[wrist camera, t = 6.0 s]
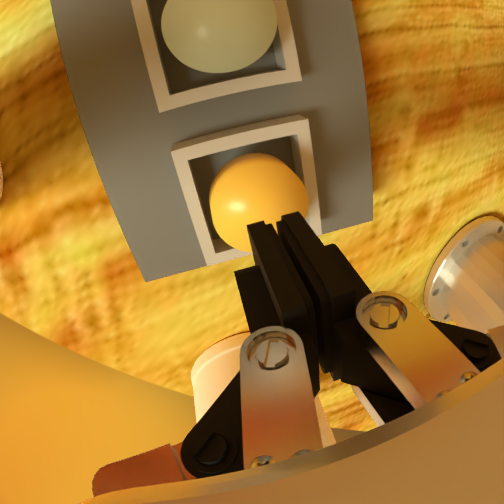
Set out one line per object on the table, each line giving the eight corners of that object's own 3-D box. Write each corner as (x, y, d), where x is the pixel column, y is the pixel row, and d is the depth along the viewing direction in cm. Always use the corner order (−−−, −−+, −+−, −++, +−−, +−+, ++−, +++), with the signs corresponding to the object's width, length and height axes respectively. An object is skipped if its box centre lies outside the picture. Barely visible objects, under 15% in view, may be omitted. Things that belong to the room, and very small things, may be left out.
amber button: (290, 143, 14) (302, 152, 13) (302, 223, 16) (312, 238, 15) (198, 166, 14) (200, 177, 12) (221, 245, 16) (225, 263, 15)
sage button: (256, -24, 9) (265, -35, 8) (275, 62, 12) (286, 62, 10) (155, -5, 9) (151, -14, 8) (176, 84, 12) (175, 85, 10)
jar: (175, 357, 26) (190, 529, 14) (278, 314, 26) (343, 492, 13) (233, 410, 33) (260, 535, 20) (314, 379, 32) (363, 504, 19)
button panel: (288, -126, 8) (311, -157, 4) (351, 200, 21) (384, 231, 18) (57, -80, 7) (31, -105, 4) (149, 254, 21) (143, 297, 17)
